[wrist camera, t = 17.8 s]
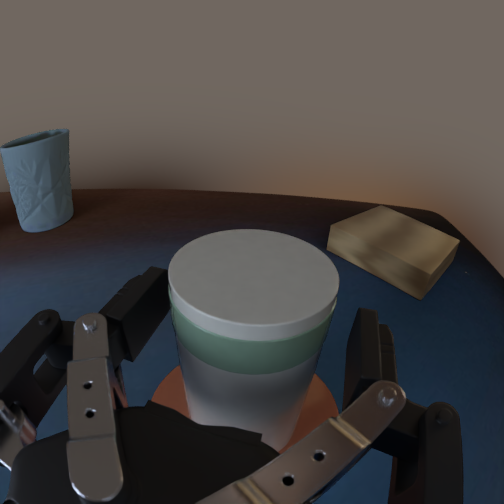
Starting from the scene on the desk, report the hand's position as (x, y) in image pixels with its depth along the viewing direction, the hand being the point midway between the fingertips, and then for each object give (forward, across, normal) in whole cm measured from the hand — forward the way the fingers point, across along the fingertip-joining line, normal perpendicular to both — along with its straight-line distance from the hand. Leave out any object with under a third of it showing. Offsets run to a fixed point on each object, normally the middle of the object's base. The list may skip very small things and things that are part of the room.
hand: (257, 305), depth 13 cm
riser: (+23, -12, +8) cm, 27 cm away
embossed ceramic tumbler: (+17, +34, +8) cm, 39 cm away
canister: (-1, 0, +8) cm, 8 cm away
